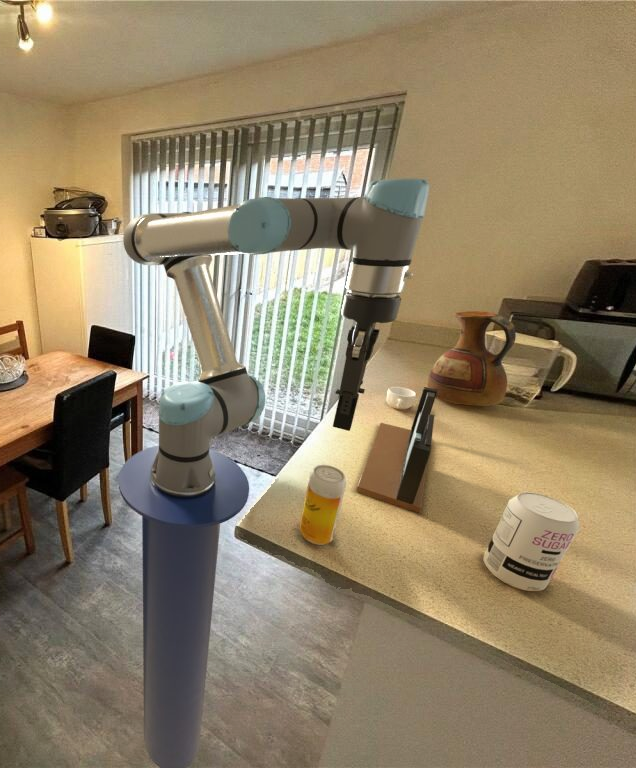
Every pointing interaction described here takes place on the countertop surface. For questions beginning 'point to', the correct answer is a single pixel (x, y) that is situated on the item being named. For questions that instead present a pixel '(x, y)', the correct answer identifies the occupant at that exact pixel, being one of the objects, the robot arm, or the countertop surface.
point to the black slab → (420, 423)
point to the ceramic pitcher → (473, 363)
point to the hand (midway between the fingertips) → (341, 427)
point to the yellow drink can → (322, 504)
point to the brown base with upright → (398, 463)
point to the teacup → (400, 397)
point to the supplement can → (531, 540)
